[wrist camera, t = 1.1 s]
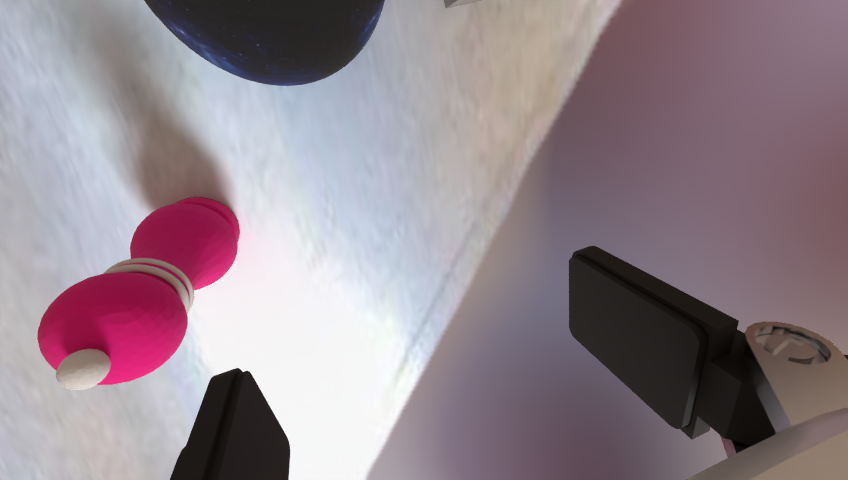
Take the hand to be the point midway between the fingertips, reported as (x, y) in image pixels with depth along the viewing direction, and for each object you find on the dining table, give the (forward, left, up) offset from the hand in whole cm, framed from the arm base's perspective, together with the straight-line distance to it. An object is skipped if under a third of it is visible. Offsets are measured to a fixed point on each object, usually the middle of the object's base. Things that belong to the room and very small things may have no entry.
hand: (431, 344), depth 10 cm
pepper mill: (+2, -15, -28) cm, 32 cm away
